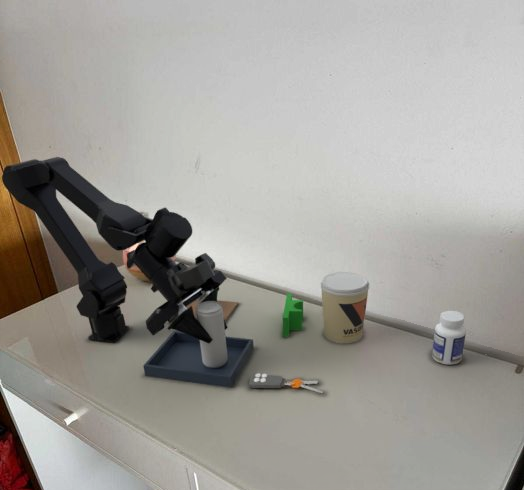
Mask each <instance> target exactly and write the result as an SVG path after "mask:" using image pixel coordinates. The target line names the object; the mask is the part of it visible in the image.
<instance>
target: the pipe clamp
mask: <svg viewBox="0 0 524 490" xmlns="http://www.w3.org/2000/svg"><path fill="white" fill-rule="evenodd" d="M285 297H286V298H285V303H284V306H283V313H282V337H283V338H290V337H289V336H290V331H302V330H303V320H304V300H303V299H293V294H292V293H286V296H285Z"/></svg>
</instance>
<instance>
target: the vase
mask: <svg viewBox="0 0 524 490" xmlns="http://www.w3.org/2000/svg"><path fill="white" fill-rule="evenodd" d="M138 212H139V213H141V214H142V215H143V216H144V217H146V218H150V216H149V212H148V211H147V210H139V211H138ZM145 242H146V241H145V240H144V241H142V242H140V243H138V244H136V245H134V246H132V247H129V248H127V249H125V250H122V262H123V265H124V268H125V269H126V271H127V272H128V273H129V274H130V275H131V276H133V277H134V278H136V279H138V280H140V281H142V282H144V283H145V282H147V283H151V282H150V281H149V279H148V278H147V277H146V276H145V275H144V274H143V273H142V271H141V270H140V269H139V268H138V267H137V266H136V265H135V266H133V267H131V268H127V255H126V254H127V253H129V252H131V251H133V250H135V249H136V248H137V246H138V245H139V244H141V243H145ZM171 258H172V259H173V260H174V262H175V263H177V254H176V255H175V256H174V257H171Z"/></svg>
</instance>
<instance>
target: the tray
mask: <svg viewBox="0 0 524 490" xmlns="http://www.w3.org/2000/svg"><path fill="white" fill-rule="evenodd" d="M225 338H226V348H227V357H228V359H227V362H226V363H225V365H223V366H222V367H219V368H209V367H207V366H205V365H204V364H203V361H202V353H201V346H200V340H199V339H197V338H195V337H193V336H190V335H188V334H185V333H183V332H180V331H177V330H173V331H172V332H171V333H170V335H169V336H168V337H167V338H166V339H165V340H164V341H163V342H162V344H161V345H160V346H159V347H158V348H157V350H155V351H154V353H152V355H151V356H150V357H149V358H148V360H147V361H146V362H145V363H144V364H143V366H142V367H143V370H144V371H143V372H144V376H145V377H150V378H159V379H164V380H165V379H166V380H173V381H181V382H186V383H187V382H188V383H195V384H203V385H210V386H216V387H217V386H218V387H224V388H232V387H233V386H234V384H235V383H236V381H237V379H238V377H239V376H240V374H241V372H242V370H243V368H244V367H245V365H246V364H247V362H248V360H249V358H250V356H251V355H252V353H253V351H254V348H255V347H254V339H253V338H244V337H235V336H227V335H225Z"/></svg>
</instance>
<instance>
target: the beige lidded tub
mask: <svg viewBox="0 0 524 490" xmlns="http://www.w3.org/2000/svg"><path fill="white" fill-rule="evenodd" d="M320 289H321V304H322V305H321V307H322V320H323V332H324V333H323V334H324V336H325V338H326V339H328V340H329V341H331V342H333V343H337V344H352V343H355V342H357V341H359V340H360V339H361V338H362V336H363V332H364V326H365V318H366V310H367V303H368V295H369V289H370V282H369V279H368V278H367V277H366V276H365V275H363V274H362V273H358V272H353V271H336V272H332V273H328V274H326V275H325V276H324V277H323V278H322V279H321V282H320Z"/></svg>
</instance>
